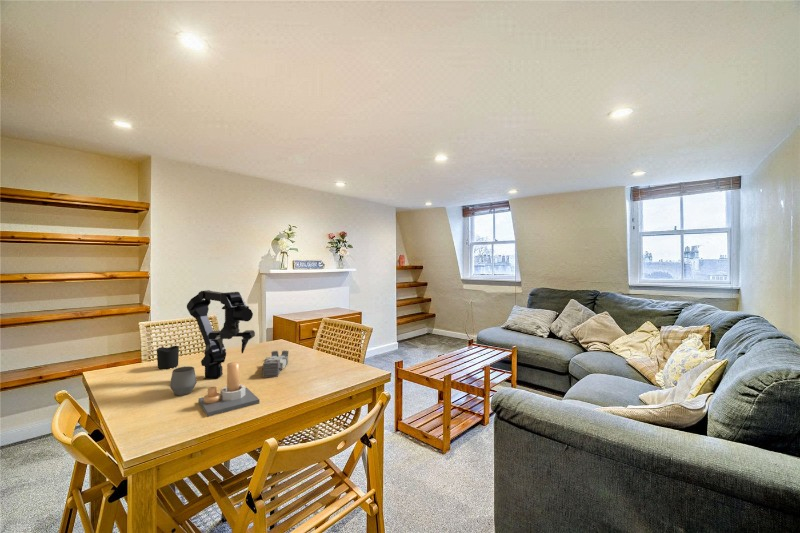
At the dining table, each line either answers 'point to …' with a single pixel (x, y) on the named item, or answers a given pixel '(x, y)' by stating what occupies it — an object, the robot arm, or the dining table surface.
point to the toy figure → (275, 364)
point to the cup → (183, 380)
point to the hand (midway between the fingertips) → (231, 353)
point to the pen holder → (167, 357)
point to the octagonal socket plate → (226, 400)
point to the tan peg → (233, 376)
